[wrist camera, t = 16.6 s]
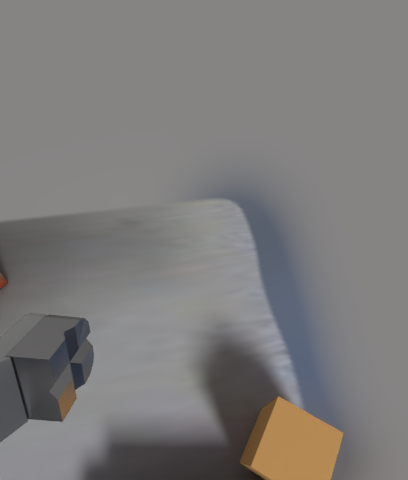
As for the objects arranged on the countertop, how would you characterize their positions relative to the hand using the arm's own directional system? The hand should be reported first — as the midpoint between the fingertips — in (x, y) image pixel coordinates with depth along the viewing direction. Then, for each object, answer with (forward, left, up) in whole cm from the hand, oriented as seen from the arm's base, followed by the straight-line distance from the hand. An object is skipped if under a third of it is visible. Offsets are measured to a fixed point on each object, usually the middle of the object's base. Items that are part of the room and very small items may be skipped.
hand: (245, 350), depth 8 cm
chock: (-2, -5, -25) cm, 25 cm away
